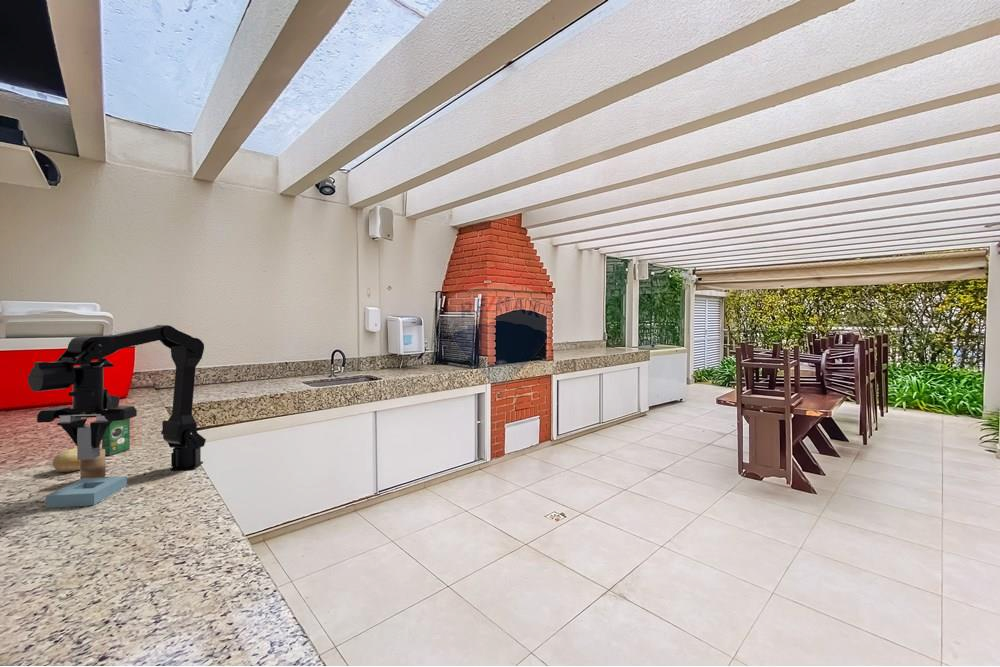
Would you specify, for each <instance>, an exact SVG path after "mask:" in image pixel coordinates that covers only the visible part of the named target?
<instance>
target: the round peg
mask: <svg viewBox="0 0 1000 667" xmlns="http://www.w3.org/2000/svg"><path fill="white" fill-rule="evenodd" d="M106 469H107V468H106V456H105V449H102V448H100V456H98V457H96V458H93V459H89V460H80V470H79V471H80V472H79V474H80V476H79V477H80V479H79V480H81V479H83V478H99V477H105V476H106V477H107V475H106Z"/></svg>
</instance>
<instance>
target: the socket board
mask: <svg viewBox="0 0 1000 667" xmlns="http://www.w3.org/2000/svg"><path fill="white" fill-rule="evenodd" d="M126 486H127V487H128V476H125V475H124V476H106V477H99V478H83V479H81V480H80V479H79V480H77V481H74V482H72V483H70V484H68V485H66V486H64V487H61V488H60V489H57V490H55V491H53V492H50V493H49V494H46V495H45V508H46V509H53V508H55V507H58V508H70V507H69V506H76V507H89V506H88V505H94V506H96V505H97V503H98V502H100V501H101V500H103V499H105V498H107V497H108V496H110V495H112V494H113V493H115V492H117V491H119V490H121V489H122V488H124V487H126ZM121 491H122V490H121ZM112 496H113V495H112ZM107 499H108V498H107ZM105 500H106V499H105ZM103 501H104V500H103ZM100 503H101V502H100ZM95 504H96V505H95ZM98 504H99V503H98ZM55 509H56V508H55Z"/></svg>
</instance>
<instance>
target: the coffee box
mask: <svg viewBox="0 0 1000 667" xmlns="http://www.w3.org/2000/svg"><path fill="white" fill-rule="evenodd" d="M130 440H131V418H129V419H126V420H121V421H113V422H112V423H111V424H110V425H109V426H108V428H107V430H106V431H105V434H104V436H103V438H102V440H101V449H105V455H110V456H113V455H112V454H114V455H115V453H116V454H119V453H123V452H126V451H129V450H130V446H131V445H130V444H131V442H130ZM125 450H126V451H125Z"/></svg>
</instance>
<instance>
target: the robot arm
mask: <svg viewBox="0 0 1000 667" xmlns="http://www.w3.org/2000/svg"><path fill="white" fill-rule="evenodd" d="M158 341H159V342H161V344H162V345H163V346H165V347H166V348H168V349H170V354H171V355H170V356H171V359H172V362H173V363H174V365H175V375H174V376H175V377H174V385H173V386H174V387H173V401H172V410H171V415H170V417H169V418H168V420H165V419H164V420H163V421H162V422H161V425H162V429H161V432H160V435H162V438H163V440H164V441H165V442H166V443H167V444H168V447H169V448H172V452H171V453H170V454H171V455H170V456H171V457H170V459H171V460H170V462H171V463H170V464H171V465H170V466H171V467H170V468H169V471H185V470H187V471H189V470H194V469H196V468H199V466H201V465H203V464H204V461H201V460H202V458H201V455H202V453H201V450H202V449H201V448H203V447H205V444H206V442H207V440H206V438H205V437H204V436H202V435H201V434H199V432H198V427H197V422H196V420H195V418H194V415H193V406H194V405H193V404H194V391H195V379H196V368H197V366H198V364H199V363H200V361H201V360H202V359H203V355H204V351H205V344H204V342H203V341H202V339H200V338H199V337H198V338H197V337H193V336H192V335H189V334H187V333H185V332H183V331H180V330H178V329H177V328H174V326H172V325H169V324H160V325H159V324H157V325H155V326H151V327H146V328H139V329H136V330H132V331H126V332H121V333H120V332H119V333H116V334H111V335H110V334H109V335H87V336H86V335H84V336H83V335H82V336H81V335H80V336H75V337H74V338H71V340H70V341H69V342H68V346H67V348H66V350H65V351H63V353H62V354H61V355H60V356H59V357H58V358H57V359H56V361H35V362H34V363H33V367H32V368H31V370H30V371H29V375H28V376H27V382H28V386H29V388H30V390H31V391H32V392H36V393H37V392H45V391H55V390H56V391H57V390H65V389H66V390H67V389H69V388H70V387H71V386H72V391H69V392H68V397H72V407H71V406H70V407H69V406H61V407H60V406H58V407H56V406H55V407H51V408H46V409H42V410H39V412H38V413H37V414H36V423H39V424H40V423H52V422H54V420H55V419H58V421H59V422H57V423H56V426H58V427H61V428H62V429H63V431H65V432H66V433H67V435H69V437H70V439H71V440H72V441H73V443H74V444H75V446H77V428H78V427H82V426H85V424H86V422H87V420H88V418H89V419H90V418H91V419H92V418H95V420H96V421H91V422H89V425H90V428H91V435H92V443H93V447H94V448H98V447H99V445H100V446H101V444H102V438H103V436H104V434H105V431H106V430H107V428H108V426H109V425H110V424H111V423H112V422H113V421H121V420H126V419H129V418H130V419H133V418H135V417H137V416H138V414H137V413H138V412H137V411H138V410H137V408H136V407H135V406H134V405H120V400H121V397H119V396H115V395H111V394H109V391H108V388H104V387H105V386H104V384H105V382H104V381H105V380H104V378H105V377H104V376H105V374H104V373H105V372H104V369H105V368H113V367H114V366H115V365H114V363H112V362H111V361H109V360H108V359H107V358H106V357H108V356H111V355H113V354H114V353H116V352H118V351H120V350H122V349H127V348H132V347H134V346H140V345H144V344H149V343H152V342H158ZM200 464H201V465H200Z"/></svg>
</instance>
